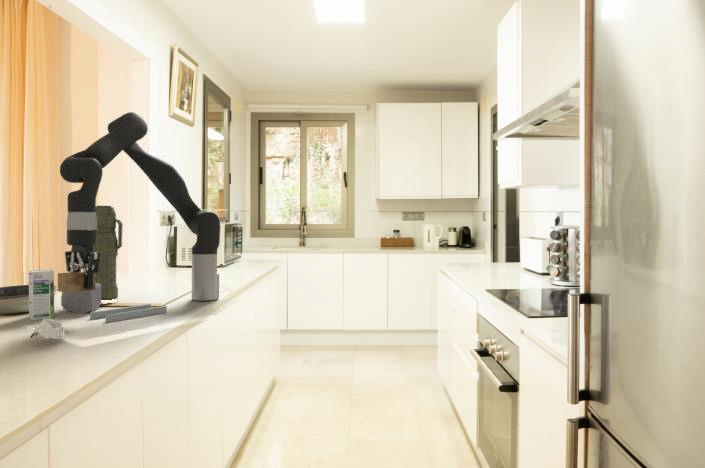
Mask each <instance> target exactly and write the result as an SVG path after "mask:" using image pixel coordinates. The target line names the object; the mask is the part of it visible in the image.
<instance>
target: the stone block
mask: <svg viewBox="0 0 705 468" xmlns="http://www.w3.org/2000/svg"><path fill="white" fill-rule="evenodd" d="M100 303H101V284H99V283H95V290H88V291H78V292H67V293H64V292H61V296H60V304H61V307H62V309H63V310H65V311H69V312H72V313H84V314H85V313H86V314H87V313H90V312H97V310H98V309H99V308H100V305H101V304H100Z"/></svg>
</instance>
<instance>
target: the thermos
mask: <svg viewBox="0 0 705 468" xmlns="http://www.w3.org/2000/svg"><path fill="white" fill-rule="evenodd" d="M95 213H96V218H97V244H96V245H93V250H94V252H100V261H99V271H98V273H95V283H99V284H101V300H112V299H116V298H117V299H118V297H119V287H118V283H117V257H118V255H119V253H118V252H119V251H118V250H120V249H121V248H122V247H123V225H124V224H123V222H122V221H121V220H120V219H117V215H116V211H115V208H114V206H113V207H112V205H96V212H95ZM117 224H118V231H116V228H117ZM117 233H118V237H117ZM94 269H95V265H94Z"/></svg>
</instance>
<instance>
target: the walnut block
mask: <svg viewBox="0 0 705 468" xmlns="http://www.w3.org/2000/svg"><path fill="white" fill-rule="evenodd" d="M84 276H85V275H84V272H83V271H81V272H58V273H57V292H60V293H62V292H64V293H67V292H78V291H88V290H95V274H94V275H93V288H91V289H85V288H84Z"/></svg>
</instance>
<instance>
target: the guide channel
mask: <svg viewBox="0 0 705 468" xmlns="http://www.w3.org/2000/svg"><path fill="white" fill-rule="evenodd" d="M167 309H168V306H165V305H161V306H156V307H152V304H151V303H146V304H141V305H140V304H139V305H133V306H126V307H117V308H112V309H103V310H98V311H97V310H96V311H93V312H89V319H90V320H99V319H104V318H105V323H112V322H117V321H122V320H124V321H125V320H130V319H136V318H142V317H148V316H153V315H160V314H165V313H168V312H167Z"/></svg>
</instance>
